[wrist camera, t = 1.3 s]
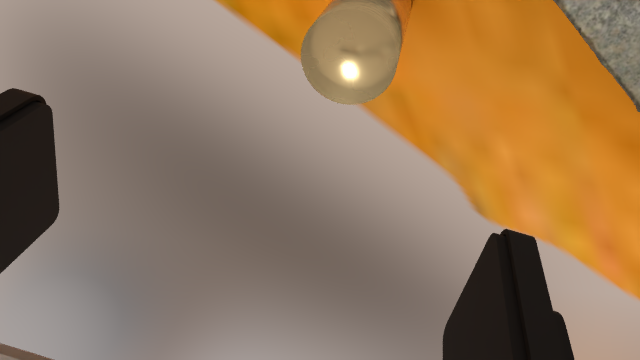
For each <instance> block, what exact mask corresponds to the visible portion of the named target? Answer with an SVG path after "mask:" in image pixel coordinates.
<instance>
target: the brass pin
mask: <svg viewBox="0 0 640 360" xmlns="http://www.w3.org/2000/svg"><path fill="white" fill-rule="evenodd" d="M411 5H412V0H332V1H331V2H330V4H329V5H328V6H327V7H326V9H325V10H324V11H323V12H322V14H321V15H320V16H319V17H318V19H317V20H316V21H315V22H314V24H313V25H312V26H311V27H310V29H309V30H308V32H307V33H306V35H305V38H304V40H303V44H302V49H301V62H302V67H303V70H304V73H305V75H306V77H307V79H308V81H309V82H310V84H311V85H312V86H313V88H314V89H315V90H316V91H318V92H319V93H320V94H321V95H323V96H324V97H326V98H327V99H330V100H331V101H334V102H337V103H341V104H361V103H365V102H368V101H370V100H372V99H374V98H376V97H378V96H379V95H380V94H381V93H383V92H384V91H385V90H386V88H387V87H388V86H389V84H390V83H391V81H392V79H393V77H394V75H395V72H396V68H397V64H398V60H399V56H400V51H401V47H402V43H403V39H404V35H405V31H406V27H407V23H408V19H409V15H410V11H411Z"/></svg>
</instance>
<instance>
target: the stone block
mask: <svg viewBox="0 0 640 360" xmlns="http://www.w3.org/2000/svg"><path fill="white" fill-rule="evenodd" d="M553 1H554V2H555V3H556V4H557V5H558V6H559V8H560V9H561V10H562V11H563V12H564V14H565V15H566V16H567V18H568V19H569V20H570V22H571V23H572V24H573V25H574V27H575V28H576V30H578V32H579V33H580V35H581V36H582V37H583V39H584V40H585V41H586V43H587V44H588V45H589V46H590V48H591V49H592V50H593V51H594V53H595V54H596V56H597V58H598V59H599V61H600V62H601V64H602V65H603V66H604V67H605V68H606V69H607V70H608V71H609V72H610V73H611V74H612V75H613V76H614V78H615V79H616V81H617V82H618V83H619V85H620V86H621V87H622V88H623V89H624V91H625V92H626V93H627V95H628V96H629V97H630V99H631V100H632V101H633V102H634V105H636V108H637V111H638V112H640V0H553Z"/></svg>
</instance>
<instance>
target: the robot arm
mask: <svg viewBox="0 0 640 360" xmlns="http://www.w3.org/2000/svg"><path fill="white" fill-rule="evenodd" d="M58 213H59V198H58V184H57V170H56V156H55V143H54V129H53V115H52V110H51V108H50V106H48V105H46V102H45V100H44V98H43V97H41V96H40V95H36V94H33V93H29V92H25V91H22V90H19V89H14V88H12V89H9V90H7V91H5V92H3V93H1V94H0V273H1V272H2V271H4V270H5V269H6V268H7V267H8V266H9V265H10V264H11V263H12V262H13V261H14V260H15V259H16V258H17V257H18V256H19V255H20V254H21V253H23V252H24V251H25V250H26V249H27V248H28V247H29V246H30V245H31V244H32V243H33V242H34V241H35V240H36V239H37V238H38V237H39V236H40V235H41V234H43V233H44V232H45V231H46V230H47V229H48V228H49V227H50V226H51V225H52V224H53V223H54V221H55V220H56V218H57V216H58ZM0 360H53V359H50V358H47V357H44V356H41V355H37V354H34V353H31V352H28V351H25V350H21V349H18V348H15V347H11V346H8V345H5V344H2V343H0ZM443 360H574V356H573V352H572V349H571V344H570V340H569V337H568V333H567V329H566V325H565V322H564V319H563V317H562V315H561V314H560V313H558V312H556V311H553V309H552V305H551V300H550V296H549V292H548V288H547V284H546V280H545V276H544V272H543V268H542V263H541V259H540V255H539V251H538V247H537V243H536V240H535V238H534V237H533V236H529V235H526V234H522V233H519V232H515V231H512V230H508V229H505V230H503V231H502V232H501V234H500V235H499V234H496V233H492V234H491V235H490V237H489V239H488V241H487V243H486V245H485V247H484V249H483V251H482V253H481V255H480V257H479V259H478V261H477V263H476V265H475V267H474V269H473V271H472V273H471V275H470V277H469V279H468V281H467V283H466V285H465V287H464V289H463V291H462V293H461V295H460V297H459V299H458V301H457V303H456V306H455V307H454V310H453V312H452V314H451V316H450V318H449V320H448V322H447V324H446V327H445V330H444V335H443Z"/></svg>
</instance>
